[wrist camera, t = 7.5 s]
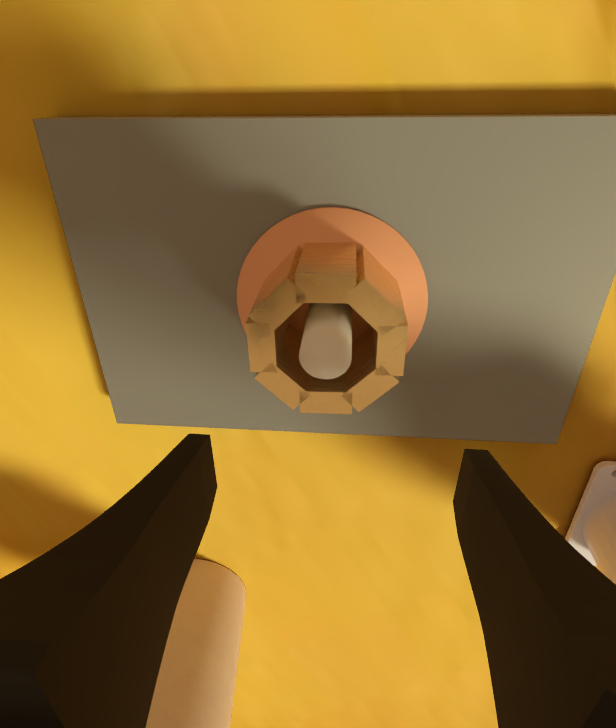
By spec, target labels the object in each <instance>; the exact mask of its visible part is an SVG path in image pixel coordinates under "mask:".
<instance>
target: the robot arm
mask: <svg viewBox="0 0 616 728" xmlns="http://www.w3.org/2000/svg"><path fill="white" fill-rule="evenodd" d="M615 470H616V461H602V462H600V463H598V464H597V465H596V466H595V467H594V469H593V472H592V474H591V476H590V479H589V481H588V484H587V486H586V489H585V491H584V493H583V496H582V498H581V501H580V503H579V506H578V508H577V510H576V513H575V515H574V518H573V520H572V523H571V525H570V527H569V530H568V532H567V535H566V537H565V539H564V538H563V537H562V536H561V535H560V534H559V532H558V531H557V530H556V529H555V528H554V527H553V526H552V525H551V524H550V523H549V522H548V521H547V520H546V519H545V518H544V517H543V516H542V515H541V513H540V512H539V511H538V510H537V509H536V508H535V507H534V506H533V504H532V503H531V502H530V501H529V500H528V499H527V498H526V496H525V495H524V494H523V493H522V492H521V491H520V489H519V488H518V487H517V486H516V485H515V483H514V482H513V481H512V480H511V479H510V477H509V476H508V475H507V474H506V472H505V471H504V470H503V469H502V467H501V466H500V465H499V464H498V462H497V461H496V460H495V459H494V457H493V456H492V455H491V454H490V453H489V452H488V450H474V449H465V450H464V454H463V459H462V463H461V468H460V472H459V477H458V481H457V486H456V490H455V495H454V500H453V505H454V513H455V520H456V527H457V533H458V538H459V542H460V546H461V550H462V554H463V557H464V561H465V565H466V568H467V572H468V576H469V579H470V583H471V587H472V590H473V594H474V598H475V601H476V605H477V609H478V612H479V616H480V620H481V625H482V629H483V634H484V639H485V645H486V651H487V657H488V663H489V668H490V674H491V681H492V687H493V694H494V700H495V706H496V713H497V720H498V727H499V728H616V471H615ZM613 471H614V472H613ZM216 489H217V482H216V475H215V468H214V461H213V454H212V447H211V440H210V435H205V434H188V435H187V436H186V437H185V438H184V439H183V440H182V441H181V442H180V443H179V444H178V445H177V446H176V447H175V448H174V449H173V450H172V451H171V452H170V453H169V454H168V455H167V456H166V457H165V458H164V459H163V460H162V461H161V462H160V463H159V464H158V465H157V466H156V467H155V468H154V469H153V470H152V471H151V472H150V473H149V474H148V475H146V476H145V477H144V478H143V479H142V480H141V481H140V482H139V483H138V484H137V485H136V486H135V487H134V488H132V489H131V490H130V491H129V492H128V493H127V494H125V495H124V496H123V497H122V498H121V499H120V500H119V501H117V502H116V503H115V504H114V505H113V506H112V507H110V508H109V509H108V510H107V511H105V512H104V513H103V514H102V515H100V516H99V517H98V518H96V519H95V520H94V521H92V522H91V523H90V524H88V525H87V526H86V527H84V528H83V529H81V530H80V531H79V532H77V533H76V534H74V535H73V536H71V537H70V538H68V539H66V540H65V541H63V542H62V543H60V544H59V545H57V546H56V547H54V548H53V549H51V550H49V551H48V552H46V553H45V554H43V555H42V556H40V557H38V558H37V559H35V560H33V561H31V562H30V563H28V564H26V565H25V566H23V567H21V568H19V569H17V570H16V571H14V572H12V573H10V574H8V575H7V576H5V577H3V578H1V579H0V728H146V724H147V719H148V715H149V711H150V707H151V703H152V698H153V694H154V690H155V686H156V682H157V678H158V674H159V670H160V666H161V662H162V658H163V654H164V651H165V647H166V643H167V639H168V635H169V632H170V628H171V625H172V621H173V617H174V614H175V610H176V607H177V604H178V601H179V598H180V595H181V592H182V589H183V587H184V584H185V581H186V579H187V576H188V573H189V571H190V568H191V566H192V563H193V560H194V558H195V555H196V553H197V550H198V548H199V545H200V542H201V540H202V537H203V534H204V532H205V529H206V526H207V524H208V521H209V518H210V514H211V510H212V506H213V502H214V498H215V494H216ZM595 566H598V568H599V570H600V571H599V570H598V569H597V568H596V567H595Z"/></svg>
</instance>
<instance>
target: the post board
mask: <svg viewBox="0 0 616 728" xmlns="http://www.w3.org/2000/svg"><path fill="white" fill-rule="evenodd" d="M33 122H34V126H35V129H36V133H37V136H38V140H39V144H40V147H41V151H42V154H43V158H44V162H45V165H46V169H47V172H48V176H49V180H50V183H51V187H52V190H53V194H54V198H55V201H56V205H57V208H58V212H59V216H60V219H61V223H62V226H63V230H64V234H65V237H66V241H67V244H68V248H69V252H70V255H71V259H72V262H73V266H74V270H75V273H76V277H77V280H78V284H79V288H80V291H81V295H82V298H83V302H84V306H85V309H86V313H87V316H88V320H89V324H90V327H91V331H92V334H93V338H94V342H95V345H96V349H97V352H98V356H99V360H100V363H101V367H102V370H103V374H104V378H105V381H106V385H107V388H108V392H109V396H110V399H111V403H112V406H113V410H114V414H115V417H116V421H117V423H124V424H145V425H166V426H187V427H208V428H229V429H250V430H272V431H293V432H314V433H335V434H356V435H377V436H398V437H419V438H440V439H461V440H482V441H503V442H524V443H545V444H557V441H558V438H559V435H560V432H561V430H562V427H563V424H564V421H565V418H566V415H567V412H568V409H569V406H570V403H571V400H572V398H573V395H574V392H575V389H576V386H577V383H578V380H579V377H580V374H581V371H582V369H583V366H584V363H585V360H586V357H587V354H588V351H589V348H590V345H591V342H592V339H593V337H594V334H595V331H596V328H597V325H598V322H599V319H600V316H601V313H602V310H603V307H604V305H605V302H606V299H607V296H608V293H609V290H610V287H611V284H612V281H613V278H614V276H615V273H616V113H615V114H449V115H283V116H117V117H49V118H40V119H33ZM305 243H356V252H357V251H358V250H359V249H360V248H361V247H362V246H364V247H365V248H366V249H367V250H368V251H369V252H370V253H371V254H372V255H373V256H374V257H375V258H376V259H377V260H378V261H379V262H380V264H381V265H382V266H383V267H384V268H385V269H386V270H387V271H388V272H389V273H390V274H391V275H392V276H393V277H394V278H395V279H396V280H397V283H398V287H399V288H400V292H401V297H402V301H403V306H404V310H405V315H406V319H407V324H408V332H407V342H406V353H405V363H404V373H403V376H399V383H398V384H396V385H395V386H394V387H392V388H391V389H390V390H388V391H387V392H386V393H384V394H383V395H382V396H380V397H379V398H378V399H376V400H375V401H373V402H372V403H371V404H369V405H368V406H367V407H365V408H364V409H363V410H361V411H360V412H358V411H357V410H356V409H355V408H354V407H353V406H352V414H328V413H300V405H298V406H297V407H296V408H295V409H294V410H292V409H291V408H290V407H289V406H288V405H286V404H285V403H284V402H283V401H281V400H280V399H279V398H278V397H277V396H275V395H274V394H273V393H272V392H270V391H269V390H268V389H267V388H266V387H264V386H263V385H262V384H261V383H259V382H258V381H257V380H256V379H254V377H255V374H256V372H250V363H249V353H248V343H247V333H246V321H247V319H248V315H249V313H250V311H251V309H252V307H253V304H254V302H255V300H256V298H257V296H258V294H259V291H260V289H261V287H262V285H263V283H264V281H265V279H266V278H267V277H268V276H269V275H270V274H271V273H272V272H273V271H274V270H275V269H276V268H277V267H278V265H279V264H280V263H281V262H282V261H283V260H284V259H285V258H286V257H287V256H288V255H289V254H290V253H291V252H292V251H293V250H294V249H295V248H296V247H297V246H299V247H300V248H301V249H302V250H303V247H304V244H305ZM288 322H289V325H291V326H292V327H293V328H294V329H295V330H296V331H297V332H298V333H300V334H301V335H302V336H303V337H302V342H301V347H300V352H299V360H300V363H301V366H302V367H303V369H304V370H305V371H306V372H307V373H308V374H310V375H311V376H313V377H316V378H319V379H333V378H336V377H339V376H341V375H342V374H344V373H345V372H346V371H347V369H348V368H349V366H350V364H351V360H352V342H353V341H354V340H355V339H356V338H358V337H359V336H360V335H361V334H362V333H364V332H365V331H366V330H367V329H368V328H370V327H371V325H370V324H369V323H368V322H367V321H366V320H365V319H363V318H362V317H361V316H360V315H359V314H358V313H357V312H356V311H355V310H354V309H353V308H352V307H351V306H350V305H349V304H346V303H303V304H302V305H301V306H300V307H299V308H298V309H296V310H295V311H294V312H293V313H292V314H291V315H290V316H289V317H288Z"/></svg>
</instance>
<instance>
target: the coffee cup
mask: <svg viewBox="0 0 616 728" xmlns="http://www.w3.org/2000/svg"><path fill="white" fill-rule="evenodd" d="M245 600H246V589H245V586H244V584H243V582H242V581H241V579H240V578H239V577H238V576H237V575H236V574H235V573H234V572H232V571H231V570H229V569H228V568H226V567H224V566H222V565H220V564H217V563H214V562H211V561H207V560H201V559H194V560H193V563H192V566H191V568H190V571H189V573H188V576H187V579H186V581H185V584H184V587H183V589H182V592H181V595H180V598H179V601H178V604H177V607H176V610H175V614H174V617H173V621H172V625H171V628H170V632H169V635H168V639H167V643H166V647H165V651H164V654H163V658H162V662H161V666H160V670H159V674H158V678H157V682H156V686H155V690H154V694H153V698H152V703H151V707H150V711H149V715H148V719H147V724H146V728H230V722H231V714H232V706H233V698H234V689H235V681H236V673H237V665H238V657H239V649H240V641H241V633H242V625H243V617H244V609H245Z"/></svg>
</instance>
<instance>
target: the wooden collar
mask: <svg viewBox="0 0 616 728" xmlns="http://www.w3.org/2000/svg"><path fill="white" fill-rule="evenodd" d="M303 303H346V304H349V305H350V306H351V307H352V308H353V309H354V310H355V311H356V312H357V313H358V314H359V315H360V316H361V317H362V318H363V319H365V320H366V321H367V322H368V323H369V324H370V325H371V327H370V328H368V329H367V330H366V331H365V332H364V333H362V334H361V335H360V336H359V337H358V338H356V339H355V340H354V341H353V342H352V360H351V364H350V366H349V368H348V369H347V371H346V372H345V373H344V374H342V375H341V376H339V377H336V378H333V379H319V378H316V377H313V376H311V375H310V374H308V373H307V372H306V371H305V370H304V369H303V367H302V366H301V363H300V360H299V352H300V347H301V342H302V337H303V336H302V335H301V334H300V333H298V332H297V331H296V330H295V329H294V328H293V327H292V326H291V325H289V322H288V317H289V316H290V315H291V314H292V313H293V312H294V311H295V310H296V309H298V308H299V307H300V306H301V305H302V304H303ZM407 332H408V324H407V319H406V315H405V310H404V306H403V301H402V297H401V292H400V288H399V287H398V283H397V280H396V279H395V278H394V277H393V276H392V275H391V274H390V273H389V272H388V271H387V270H386V269H385V268H384V267H383V266H382V265H381V264H380V262H379V261H378V260H377V259H376V258H375V257H374V256H373V255H372V254H371V253H370V252H369V251H368V250H367V249H366V248H365V247H364V246H362V247H361V248H360V249H359V250H358V251H357V252H356V243H305V244H304V247H303V250H302V249H301V248H300V247H299V246H297V247H296V248H295V249H294V250H293V251H292V252H291V253H290V254H289V255H288V256H287V257H286V258H285V259H284V260H283V261H282V262H281V263H280V264H279V265H278V267H277V268H276V269H275V270H274V271H273V272H272V273H271V274H270V275H269V276H268V277H267V278H266V279H265V281H264V283H263V285H262V287H261V289H260V291H259V294H258V296H257V298H256V300H255V302H254V304H253V307H252V309H251V311H250V313H249V315H248V319H247V321H246V333H247V343H248V353H249V363H250V372H256V374H255V377H254V379H256V380H257V381H258V382H259V383H261V384H262V385H263V386H264V387H266V388H267V389H268V390H269V391H270V392H272V393H273V394H274V395H275V396H277V397H278V398H279V399H280V400H281V401H283V402H284V403H285V404H286V405H288V406H289V407H290V408H291V409H292V410H294V409H295V408H296V407H297V406H298V405H300V413H328V414H352V406H353V407H354V408H355V409H356V410H357V411H358V412H360V411H361V410H363V409H364V408H365V407H367V406H368V405H369V404H371V403H372V402H373V401H375V400H376V399H378V398H379V397H380V396H382V395H383V394H384V393H386V392H387V391H388V390H390V389H391V388H392V387H394V386H395V385H396V384H398V383H399V376H403V373H404V363H405V353H406V342H407Z"/></svg>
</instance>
